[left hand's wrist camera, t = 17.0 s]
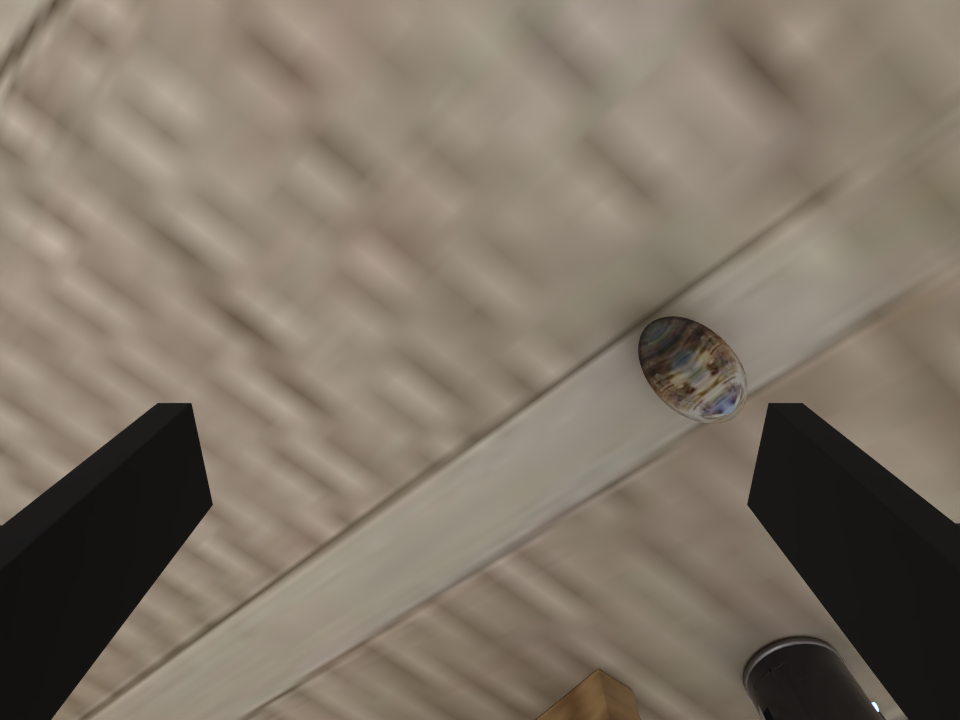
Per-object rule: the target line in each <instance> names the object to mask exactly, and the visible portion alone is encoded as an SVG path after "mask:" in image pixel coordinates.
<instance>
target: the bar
mask: <svg viewBox="0 0 960 720" xmlns="http://www.w3.org/2000/svg"><path fill="white" fill-rule="evenodd" d="M537 720H641V719H640V716H639V712H638V709H637V705H636V702H635V698H634V695H633V691H632V690H631V689H629V688H628V687H626V686H624V685H623V684H621V683H620V682H618V681H617V680H615V679H613V678H612V677H610V676H609V675H607V674H605V673H604V672H602V671H601V670H599V669H597V670H596V671H595V672H594V673H593V674H591V675H590V676H589V677H588V678H586V679H585V680H584V681H583V682H582V683H580V684H579V685H578V686H577V687H576V688H574V689H573V690H572V691H571V692H569V693H568V694H567V695H566V696H565V697H563V698H562V699H561V700H560V701H558V702H557V703H556V704H555V705H554V706H552V707H551V708H550V709H549V710H548V711H546V712H545V713H544V714H543V715H541V716H540V717H539V718H538V719H537Z"/></svg>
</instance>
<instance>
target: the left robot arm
mask: <svg viewBox="0 0 960 720" xmlns="http://www.w3.org/2000/svg"><path fill="white" fill-rule="evenodd" d="M212 505H213V503H212V499H211V494H210V489H209V484H208V480H207V475H206V470H205V465H204V461H203V456H202V451H201V446H200V442H199V437H198V432H197V428H196V423H195V418H194V413H193V409H192V404H191V403H157V404H156V405H155V406H153V407H152V408H151V409H150V410H148V411H147V412H146V413H145V414H143V415H142V416H141V417H139V418H138V419H137V420H136V421H134V422H133V423H132V424H131V425H129V426H128V427H127V428H126V429H124V430H123V431H122V432H120V433H119V434H118V435H117V436H115V437H114V438H113V439H112V440H110V441H109V442H108V443H106V444H105V445H104V446H103V447H101V448H100V449H99V450H98V451H96V452H95V453H94V454H92V455H91V456H90V457H89V458H87V459H86V460H85V461H84V462H82V463H81V464H80V465H79V466H77V467H76V468H75V469H73V470H72V471H71V472H70V473H68V474H67V475H66V476H65V477H63V478H62V479H61V480H59V481H58V482H57V483H56V484H54V485H53V486H52V487H51V488H49V489H48V490H47V491H45V492H44V493H43V494H42V495H40V496H39V497H38V498H37V499H35V500H34V501H33V502H32V503H30V504H29V505H28V506H26V507H25V508H24V509H23V510H21V511H20V512H19V513H18V514H16V515H15V516H14V517H12V518H11V519H10V520H9V521H7V522H6V523H5V524H4V525H0V720H51V719H52V718H53V716H54V715H55V714H56V712H57V711H58V710H59V708H60V707H61V706H62V704H63V703H64V702H65V700H66V699H67V698H68V697H69V695H70V694H71V693H72V691H73V690H74V689H75V687H76V686H77V685H78V683H79V682H80V681H81V679H82V678H83V677H84V675H85V674H86V673H87V671H88V670H89V669H90V667H91V666H92V665H93V663H94V662H95V661H96V659H97V658H98V657H99V655H100V654H101V653H102V651H103V650H104V649H105V647H106V646H107V645H108V643H109V642H110V641H111V639H112V638H113V637H114V635H115V634H116V633H117V631H118V630H119V629H120V627H121V626H122V625H123V623H124V622H125V621H126V619H127V618H128V617H129V615H130V614H131V613H132V611H133V610H134V609H135V607H136V606H137V605H138V603H139V602H140V601H141V599H142V598H143V597H144V595H145V594H146V593H147V591H148V590H149V589H150V587H151V586H152V585H153V584H154V582H155V581H156V580H157V578H158V577H159V576H160V574H161V573H162V572H163V570H164V569H165V568H166V566H167V565H168V564H169V562H170V561H171V560H172V558H173V557H174V556H175V554H176V553H177V552H178V550H179V549H180V548H181V546H182V545H183V544H184V542H185V541H186V540H187V538H188V537H189V536H190V534H191V533H192V532H193V530H194V529H195V528H196V526H197V525H198V524H199V522H200V521H201V520H202V518H203V517H204V516H205V514H206V513H207V512H208V510H209V509H210V508H211V506H212ZM747 505H748V506H749V508H750V509H751V510H752V512H753V513H754V514H755V516H756V517H757V518H758V520H759V521H760V522H761V524H762V525H763V526H764V528H765V529H766V530H767V532H768V533H769V534H770V536H771V537H772V538H773V540H774V541H775V542H776V544H777V545H778V546H779V548H780V549H781V550H782V552H783V553H784V554H785V556H786V557H787V558H788V560H789V561H790V562H791V564H792V565H793V566H794V568H795V569H796V570H797V572H798V573H799V574H800V576H801V577H802V578H803V580H804V581H805V582H806V584H807V585H808V586H809V587H810V589H811V590H812V591H813V593H814V594H815V595H816V597H817V598H818V599H819V601H820V602H821V603H822V605H823V606H824V607H825V609H826V610H827V611H828V613H829V614H830V615H831V617H832V618H833V619H834V621H835V622H836V623H837V625H838V626H839V627H840V629H841V630H842V631H843V633H844V634H845V635H846V637H847V638H848V639H849V641H850V642H851V643H852V645H853V646H854V647H855V649H856V650H857V651H858V653H859V654H860V655H861V657H862V658H863V659H864V661H865V662H866V663H867V665H868V666H869V667H870V669H871V670H872V671H873V673H874V674H875V675H876V677H877V678H878V679H879V681H880V682H881V683H882V685H883V686H884V687H885V689H886V690H887V691H888V693H889V694H890V695H891V697H892V698H893V699H894V700H895V702H896V703H897V704H898V706H899V707H900V708H901V710H902V711H903V712H904V714H905V715H906V716H907V718H908V719H909V720H960V524H955V523H954V522H953V521H951V520H950V519H949V518H948V517H946V516H945V515H944V514H942V513H941V512H940V511H939V510H937V509H936V508H935V507H934V506H932V505H931V504H930V503H928V502H927V501H926V500H925V499H923V498H922V497H921V496H920V495H918V494H917V493H916V492H915V491H913V490H912V489H911V488H909V487H908V486H907V485H906V484H904V483H903V482H902V481H901V480H899V479H898V478H897V477H895V476H894V475H893V474H892V473H890V472H889V471H888V470H887V469H885V468H884V467H883V466H881V465H880V464H879V463H878V462H876V461H875V460H874V459H873V458H871V457H870V456H869V455H868V454H866V453H865V452H864V451H862V450H861V449H860V448H859V447H857V446H856V445H855V444H854V443H852V442H851V441H850V440H848V439H847V438H846V437H845V436H843V435H842V434H841V433H840V432H838V431H837V430H836V429H834V428H833V427H832V426H831V425H829V424H828V423H827V422H826V421H824V420H823V419H822V418H821V417H819V416H818V415H817V414H815V413H814V412H813V411H812V410H810V409H809V408H808V407H807V406H805V405H804V404H803V403H769V404H768V409H767V413H766V418H765V423H764V427H763V432H762V437H761V442H760V446H759V451H758V456H757V461H756V465H755V470H754V475H753V480H752V484H751V489H750V494H749V499H748V503H747Z"/></svg>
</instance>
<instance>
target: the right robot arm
mask: <svg viewBox="0 0 960 720" xmlns="http://www.w3.org/2000/svg"><path fill="white" fill-rule="evenodd" d="M743 683H744V687H745V689H746V691H747V693H748V695H749V697H750V699H751V700H752V701H753V703H754V705H755V707H756V709H757V711H758V713H759V715H760V717H761V720H885V718H884V717H883V715H882V714H881V712H880V711H879V710H878V707H877V705H876V704H875V703H871V701H870V700H869V698H868V697H867V696H866V694H865V693H864V691H863V690H862V688H861V687H860V685H859V684H858V683H857V681H856V680H855V678H854V677H853V676H852V674H851V673H850V671H849V670H848V669H847V667H846V666H845V664H844V662H843V660H842V658H841V657H840V655H839V654H838V652H837V651H836V650H835V649H834V648H833V647H832V646H831V645H829V644H828V643H826V642H824V641H821V640H818V639H814V638H806V637H798V638H790V639H785V640H782V641H778V642H776V643H773V644H771V645H769V646H767V647H765V648H764V649H762V650H761V651H760V652H758V653H757V654H756V655H755V656H754V657H753V658H752V659H751V660H750V662H749V663H748V665H747V667H746V669H745V671H744V676H743Z"/></svg>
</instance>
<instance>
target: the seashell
mask: <svg viewBox="0 0 960 720" xmlns="http://www.w3.org/2000/svg"><path fill="white" fill-rule="evenodd" d="M638 354H639V360H640V364H641V368H642V370H643V373H644V375H645V377H646V379H647V381H648V382H649V384H650V386H651V387H652V388H653V390H654V391H655V393H656V394H657V395H658V396H659V397H660V398H661V399H662V400H663V401H664V402H665V403H666V404H667V405H668V406H669V407H670V408H672V409H673V410H674V411H676V412H677V413H679V414H681V415H683V416H685V417H687V418H689V419H692V420H695V421H699V422H704V423H722V422H726V421H729V420H731V419H733V418H734V417H736V416H737V415H738V414H739V413H740V412H741V410H742V408H743V407H744V404H745V401H746V397H747V380H746V375H745V371H744V369H743V366H742V364H741V362H740V360H739V359H738V357H737V355H736V354H735V353H734V351H733V350H732V349H731V347H730V346H729V345H728V344H727V343H726V342H725V341H724V340H723V339H722V338H721V337H720V336H718V335H717V334H716V333H714V332H713V331H712V330H710V329H709V328H707V327H705V326H704V325H702V324H700V323H698V322H695V321H693V320H690V319H687V318H682V317H664V318H660V319H657V320H655V321H653V322H651V323H650V324H649V325H648V326H647V327H646V328H645V329H644V331H643V333H642V335H641V337H640V340H639V346H638Z"/></svg>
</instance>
